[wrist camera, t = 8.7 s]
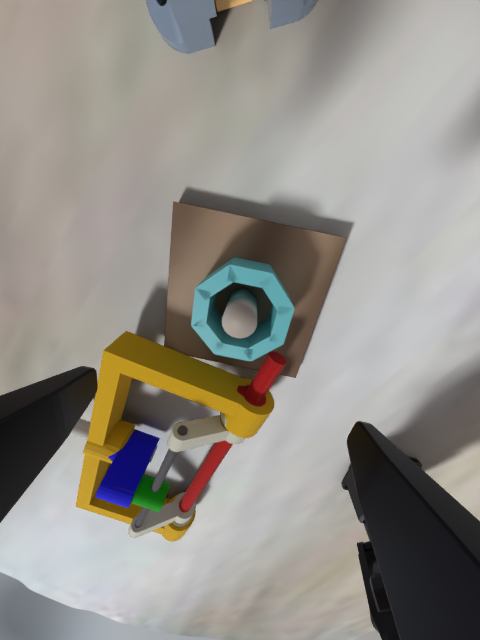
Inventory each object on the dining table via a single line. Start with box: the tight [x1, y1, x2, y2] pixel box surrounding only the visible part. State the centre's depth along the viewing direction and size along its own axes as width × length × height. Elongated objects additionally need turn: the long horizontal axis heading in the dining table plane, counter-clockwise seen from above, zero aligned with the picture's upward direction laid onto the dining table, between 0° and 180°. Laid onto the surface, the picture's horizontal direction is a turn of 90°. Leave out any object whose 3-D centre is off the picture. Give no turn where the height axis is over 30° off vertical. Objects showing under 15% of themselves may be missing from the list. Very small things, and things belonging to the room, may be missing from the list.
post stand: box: [164, 201, 346, 378], centre depth 16 cm, size 12×12×5 cm
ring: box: [191, 257, 294, 361], centre depth 16 cm, size 6×6×3 cm
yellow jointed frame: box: [70, 331, 286, 541], centre depth 21 cm, size 18×6×30 cm
